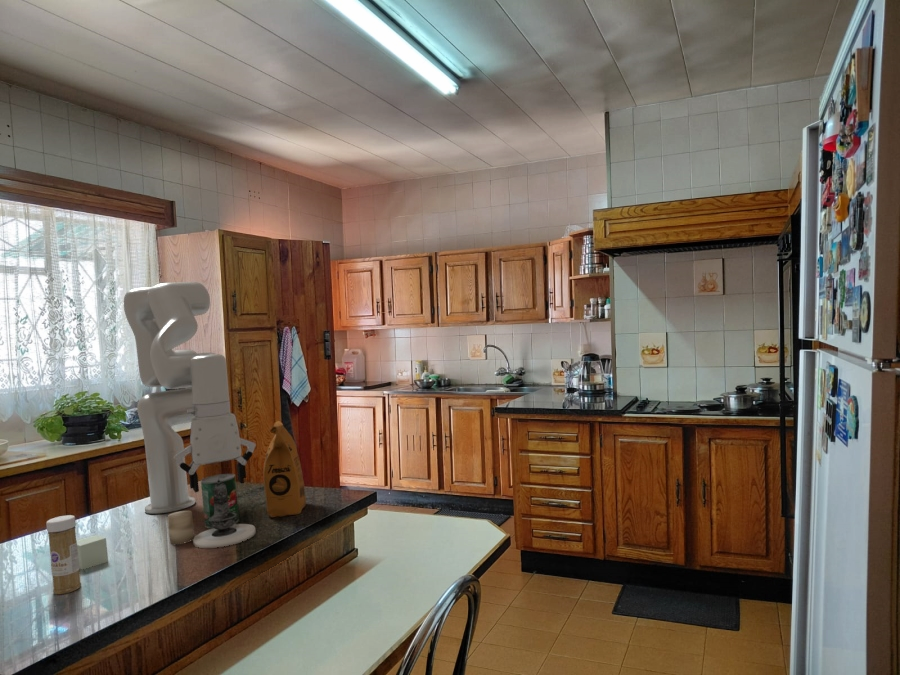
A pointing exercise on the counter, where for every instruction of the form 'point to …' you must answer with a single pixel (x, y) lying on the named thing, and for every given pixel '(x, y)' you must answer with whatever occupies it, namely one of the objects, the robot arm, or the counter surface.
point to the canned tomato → (208, 497)
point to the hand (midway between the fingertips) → (218, 486)
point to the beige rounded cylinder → (180, 527)
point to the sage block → (92, 551)
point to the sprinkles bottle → (63, 554)
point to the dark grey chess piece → (222, 512)
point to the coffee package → (283, 475)
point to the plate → (224, 537)
